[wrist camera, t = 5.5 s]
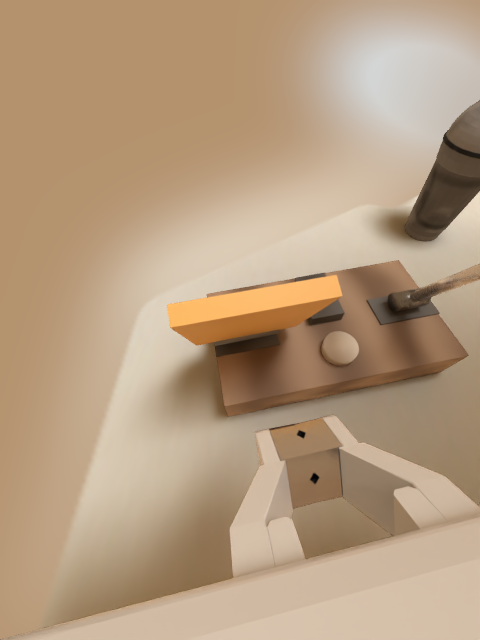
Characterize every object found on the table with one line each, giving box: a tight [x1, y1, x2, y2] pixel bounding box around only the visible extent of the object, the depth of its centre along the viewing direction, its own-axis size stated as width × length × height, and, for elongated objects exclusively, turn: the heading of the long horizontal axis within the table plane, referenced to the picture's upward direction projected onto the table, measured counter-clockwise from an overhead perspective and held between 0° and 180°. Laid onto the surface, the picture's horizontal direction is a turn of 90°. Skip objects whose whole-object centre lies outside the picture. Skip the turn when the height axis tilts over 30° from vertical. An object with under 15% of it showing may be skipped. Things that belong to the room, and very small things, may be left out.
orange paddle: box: [167, 275, 342, 346], centre depth 19 cm, size 9×2×11 cm, turn 101°
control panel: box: [207, 260, 469, 417], centre depth 26 cm, size 22×12×5 cm, turn 101°
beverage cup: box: [405, 100, 480, 241], centre depth 29 cm, size 7×7×20 cm
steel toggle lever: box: [387, 264, 480, 312], centre depth 20 cm, size 3×3×12 cm
